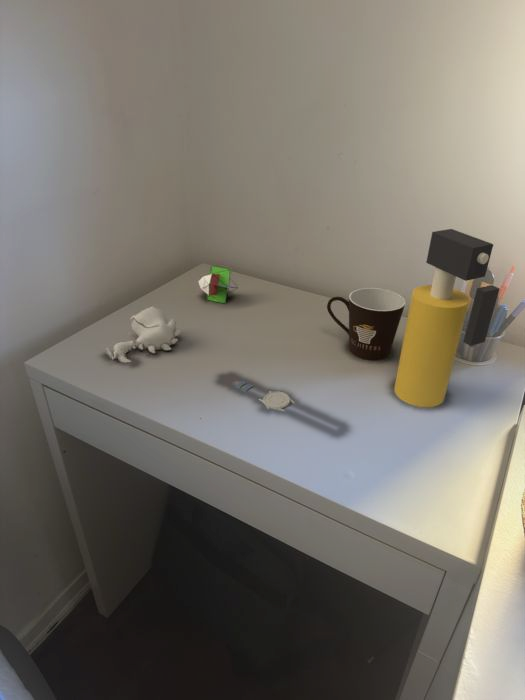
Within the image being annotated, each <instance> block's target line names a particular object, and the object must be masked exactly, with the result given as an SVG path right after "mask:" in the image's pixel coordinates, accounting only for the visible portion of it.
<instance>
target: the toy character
mask: <svg viewBox="0 0 525 700" xmlns="http://www.w3.org/2000/svg"><path fill="white" fill-rule="evenodd" d="M130 321H131V329H132V331H133V332H134V333H135V335H137V336H138V337H137V338H136V339H135V338H134V334H133V333H132V332H128V333H127V334H128V335H129V337H131V339H132V340H128V341H121V342H118V343H115V344H114V345H113V353H112V352H111V349H110V348H109V347H106V348H105V350H106V354H107V355H108V357H109V358H110V359H111V360H116V359H117V360H118V361H119V362H121V363H131V362H132V360H130V358H127V356H126V354H127V353H128V352H129V350H132V349H134V350H135V349H136V347H138V348H139V349H140V350H141V351H142V350H143V349H144V348H146V349H147V350H148V351H149V352H150V353H152V354H156V351H171V350H172V347H171V345H174V344H176V343H177V342H179V339H178V338H177V337H178V336H179V335H180V334H181V332H182V331H183V330H182V329H180V328H176V327H177V321H176V319H175V318H171V319H170V321H168V317H167V315H166V314H165V312H163V310H162V309H159V308H157V307H156V306H150V307H147V308H145V309H143V310H141V311H140V312H138V313H137V314H133V315H131V317H130Z"/></svg>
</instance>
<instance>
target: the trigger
mask: <svg viewBox="0 0 525 700" xmlns="http://www.w3.org/2000/svg"><path fill="white" fill-rule="evenodd" d="M500 290H501V288H500V287H497V286H495V285H493V284H489V285H486V286H482V287H477V288H476V290H475V295H474V299H473V302H472V306H471V311H470V314H469V318H468V322H467V325H466V330H465V333H464V337H463V341H462V342H463V343H464V344H467V345H468V346H470V347H473V346H476V345H480V344H482V343H485V342H486V338H487V335H488V332H489V328H490V324H491V320H492V318H493V314H494V310H495V306H496V304H497V301H498V300H497V299H498V296H499V292H500Z"/></svg>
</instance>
